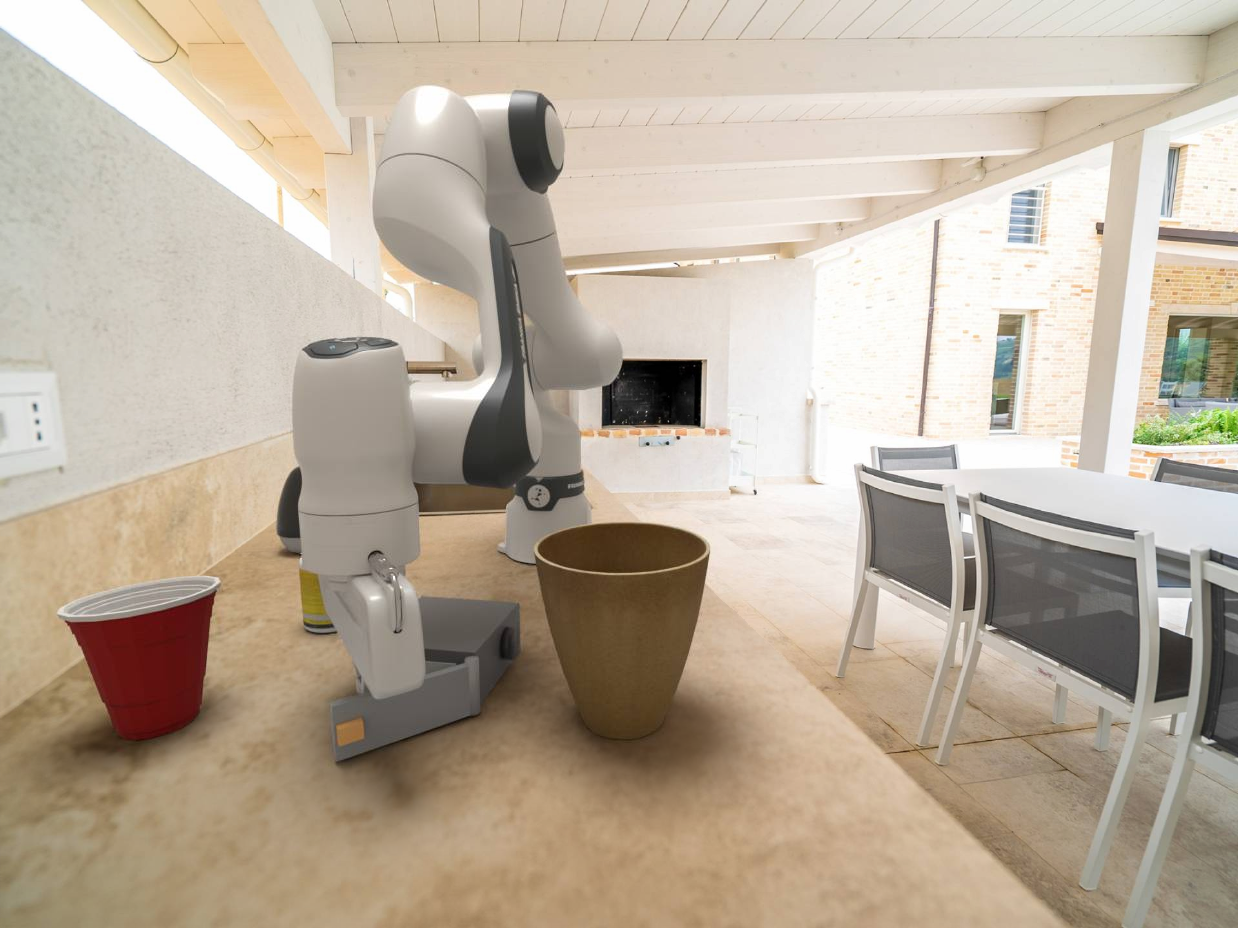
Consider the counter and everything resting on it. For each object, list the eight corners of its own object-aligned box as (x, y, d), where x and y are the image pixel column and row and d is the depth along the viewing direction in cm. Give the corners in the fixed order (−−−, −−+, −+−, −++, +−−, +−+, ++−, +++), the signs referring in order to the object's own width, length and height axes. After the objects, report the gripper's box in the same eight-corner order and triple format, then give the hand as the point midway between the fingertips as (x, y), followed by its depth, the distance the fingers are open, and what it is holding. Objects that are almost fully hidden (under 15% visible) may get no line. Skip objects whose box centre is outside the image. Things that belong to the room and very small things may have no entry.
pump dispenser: (326, 558, 97) (320, 469, 95) (265, 558, 97) (257, 469, 95) (355, 541, 107) (349, 460, 105) (299, 541, 107) (292, 460, 105)
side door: (333, 755, 46) (329, 696, 45) (477, 706, 52) (475, 654, 52) (337, 766, 44) (333, 706, 44) (484, 714, 51) (482, 661, 50)
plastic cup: (211, 676, 58) (199, 561, 57) (251, 714, 52) (239, 586, 50) (64, 725, 50) (45, 592, 48) (89, 778, 43) (68, 626, 42)
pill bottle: (339, 637, 67) (332, 540, 66) (291, 632, 69) (283, 537, 67) (373, 615, 74) (367, 526, 72) (328, 611, 75) (322, 524, 73)
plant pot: (550, 673, 59) (548, 520, 57) (697, 675, 59) (700, 521, 56) (522, 770, 44) (517, 569, 42) (717, 774, 44) (722, 571, 42)
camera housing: (424, 642, 66) (421, 591, 65) (529, 650, 64) (528, 598, 63) (360, 699, 54) (356, 638, 53) (487, 711, 52) (484, 648, 51)
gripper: (444, 564, 40) (451, 746, 42) (373, 512, 57) (381, 645, 59) (346, 581, 37) (358, 780, 39) (301, 520, 53) (311, 662, 55)
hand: (371, 698), depth 49 cm, fingers closed
